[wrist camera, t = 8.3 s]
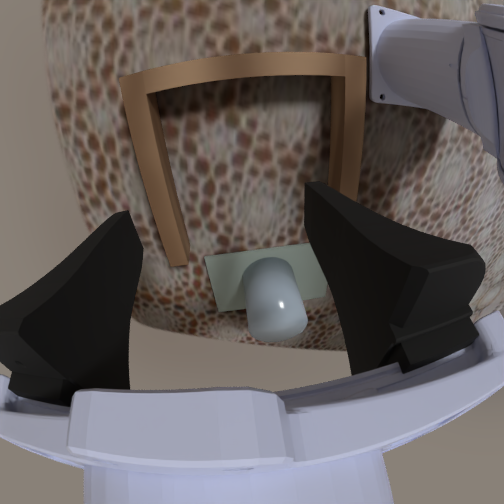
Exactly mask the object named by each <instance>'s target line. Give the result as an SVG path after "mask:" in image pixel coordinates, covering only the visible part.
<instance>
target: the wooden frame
mask: <svg viewBox="0 0 504 504" xmlns="http://www.w3.org/2000/svg"><path fill="white" fill-rule="evenodd" d="M274 75H328V76H331V131H330V158H329V176H328V186H330V187H331V188H333V189H335V190H336V191H338V192H340V193H341V194H343V195H345V196H347V197H348V198H350V199H352V200H353V201H355V202H356V201H357V194H358V186H359V178H360V169H361V159H362V149H363V137H364V123H365V104H366V57H362V56H353V55H344V54H332V53H315V52H265V53H248V54H236V55H226V56H218V57H210V58H203V59H197V60H191V61H186V62H180V63H175V64H171V65H166V66H161V67H157V68H153V69H149V70H145V71H141V72H138V73H134V74H131V75H127V76H124V77H121V78H119V82H120V87H121V92H122V97H123V102H124V107H125V111H126V116H127V120H128V125H129V129H130V133H131V137H132V141H133V145H134V149H135V153H136V157H137V161H138V165H139V168H140V172H141V176H142V179H143V183H144V186H145V190H146V193H147V196H148V200H149V203H150V206H151V209H152V213H153V216H154V219H155V222H156V225H157V228H158V231H159V234H160V237H161V240H162V243H163V246H164V249H165V252H166V255H167V257H168V260H169V263H170V266H171V267H173V266H181V265H188V264H189V253H190V243H189V239H188V235H187V231H186V228H185V224H184V220H183V216H182V212H181V208H180V204H179V200H178V196H177V192H176V188H175V184H174V180H173V175H172V171H171V166H170V162H169V158H168V153H167V148H166V144H165V139H164V134H163V129H162V124H161V119H160V114H159V109H158V103H157V98H156V91H161V90H165V89H170V88H175V87H180V86H185V85H191V84H197V83H203V82H210V81H217V80H225V79H234V78H244V77H256V76H274Z"/></svg>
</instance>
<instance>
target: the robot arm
mask: <svg viewBox="0 0 504 504" xmlns="http://www.w3.org/2000/svg"><path fill="white" fill-rule="evenodd" d="M379 10H381V11H382V13H383V14H382V15H381V14H380V13H379ZM475 16H476V19H477V22H478V23H476V22H468V21H459V20H446V19H421V18H418V17H415V16H412V15H409V14H406V13H402V12H399V11H396V10H392V9H388V8H384V7H380V6H376V5H372V6H369V8H368V20H369V44H370V84H369V98H370V99H371V100H372V101H373V102H376V103H386V104H395V105H403V106H411V107H417V108H424V109H428V110H430V111H432V112H435V113H437V114H439V115H441V116H443V117H445V118H447V119H449V120H451V121H453V122H455V123H457V124H459V125H461V126H463V127H465V128H466V129H468V130H470V131H472V132H474V133H475V134H477V135H479V136H480V137H481V139H482V142H483V149H484V150H485V151H487V152H488V153H490V154H491V155H493V156H494V157H495V158H497V170H498V174H499V177H500V179H501V181H502V183H503V184H504V5H497V4H481V6H480V7H479V10H478V11H475ZM381 94H382V95H383V98H382V99H380V95H381ZM304 226H305V229H306V233H307V236H308V239H309V242H310V245H311V247H312V249H313V252H314V254H315V256H316V258H317V260H318V263H319V265H320V267H321V269H322V271H323V274H324V276H325V278H326V280H327V282H328V285H329V287H330V290H331V292H332V295H333V298H334V302H335V305H336V308H337V312H338V315H339V319H340V323H341V327H342V331H343V334H344V339H345V343H346V348H347V353H348V357H349V363H350V368H351V374H352V376H349V377H345V378H341V379H337V380H333V381H328V382H324V383H320V384H315V385H310V386H305V387H300V388H295V389H289V390H283V391H277V392H271V391H268V390H263V389H257V388H252V387H212V388H198V389H178V390H130V381H129V361H128V360H129V330H130V319H131V313H132V308H133V303H134V299H135V294H136V290H137V286H138V282H139V277H140V273H141V268H142V260H143V249H144V248H143V246H142V244H141V241H140V239H139V236H138V234H137V231H136V229H135V226H134V224H133V221H132V218H131V216H130V213H129V211H128V210H127V211H122V212H118V213H115V214H113V215H112V216H111V217H109V218H108V219H107V220H106V221H105V222H104V223H102V224H101V225H100V226H99V227H98V228H97V229H96V230H95V231H94V232H93V233H92V234H91V235H90V236H89V237H88V238H87V239H86V240H85V241H84V242H82V243H81V244H80V245H79V246H78V247H77V248H76V249H75V250H74V251H73V252H72V253H71V254H70V255H69V256H68V257H66V258H65V259H64V260H63V261H62V262H61V263H60V264H58V265H57V266H56V267H55V268H54V269H53V270H51V271H50V272H49V273H48V274H46V275H45V276H44V277H42V278H41V279H40V280H38V281H37V282H36V283H34V284H33V285H32V286H30V287H29V288H27V289H26V290H25V291H23V292H22V293H20V294H19V295H17V296H15V297H14V298H12V299H11V300H9V301H7V302H5V303H4V304H2V305H0V362H1V363H2V364H4V365H5V366H6V367H7V368H8V369H9V370H10V371H12V374H11V378H9V377H7V376H5V375H2V374H0V437H1V438H3V439H5V440H7V441H9V442H11V443H13V444H15V445H17V446H19V447H21V448H24V449H26V450H29V451H31V452H33V453H36V454H38V455H41V456H44V457H47V458H50V459H52V460H55V461H58V462H61V463H64V464H68V465H71V466H74V467H78V468H81V469H84V504H394V501H393V497H392V492H391V488H390V483H389V479H388V475H387V471H386V467H385V463H384V459H383V455H382V453H384V452H386V451H389V450H391V449H394V448H396V447H399V446H401V445H403V444H406V443H408V442H410V441H412V440H415V439H417V438H419V437H421V436H423V435H425V434H427V433H429V432H431V431H433V430H435V429H437V428H439V427H441V426H443V425H445V424H446V423H448V422H450V421H452V420H453V419H455V418H457V417H459V416H460V415H462V414H464V413H465V412H467V411H469V410H470V409H472V408H473V407H475V406H477V405H478V404H480V403H481V402H482V401H484V400H485V399H487V398H489V397H490V396H491V395H493V394H494V393H495V392H496V391H498V390H499V389H500V388H502V387H503V386H504V319H503V317H502V315H501V314H500V312H499V310H496V311H494V312H492V313H490V314H488V315H486V316H484V317H482V318H480V319H479V320H477V321H476V322H475V323H474V324H473V323H472V321H471V319H470V316H471V315H472V314H473V311H472V309H471V308H470V306H469V305H468V304H469V303H470V301H471V300H472V298H473V296H474V295H475V293H476V291H477V290H478V288H479V286H480V284H481V282H482V280H483V278H484V275H485V269H486V268H485V262H484V260H483V259H482V258H481V256H480V255H479V254H478V253H477V251H476V250H475V249H474V248H473V247H472V246H471V245H469V244H464V243H460V242H456V241H451V240H447V239H443V238H440V237H436V236H433V235H430V234H427V233H424V232H420V231H418V230H415V229H412V228H410V227H407V226H404V225H402V224H399V223H397V222H395V221H392V220H390V219H388V218H386V217H384V216H381V215H379V214H377V213H375V212H373V211H372V210H370V209H368V208H366V207H364V206H362V205H360V204H359V203H357V202H355V201H353V200H352V199H350V198H348V197H347V196H345V195H343V194H341V193H340V192H338V191H336V190H335V189H333V188H331V187H330V186H328V185H326V184H324V183H322V182H320V181H318V182H307V183H305V206H304Z"/></svg>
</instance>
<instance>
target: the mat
mask: <svg viewBox="0 0 504 504" xmlns="http://www.w3.org/2000/svg"><path fill="white" fill-rule="evenodd" d="M267 257H276V258H281V259H284V260H285V261H287V262H288V263H289V264H290V265H291V266H292V269H293V272H294V275H295V279H296V282H297V285H298V288H299V292H300V295H301V298H302V300H308V299H314V298H320V297H325V295H326V289H327V283H328V282H327V280H326V278H325V276H324V274H323V271H322V269H321V267H320V265H319V263H318V260H317V258H316V256H315V254H314V252H313V249H312V247H311V245H310V243H304V244H296V245H288V246H281V247H273V248H266V249H258V250H250V251H243V252H235V253H227V254H220V255H212V256H205V257H204V258H205V262H206V266H207V270H208V274H209V278H210V281H211V285H212V289H213V293H214V296H215V300H216V304H217V307H218V311H219V312H223V311H232V310H240V309H246V303H245V295H244V286H243V273H244V271H245V269H246V268H247V267H248V266H249V265H250V264H251V263H253V262H255V261H257V260H259V259H262V258H267Z"/></svg>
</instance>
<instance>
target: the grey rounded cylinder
mask: <svg viewBox="0 0 504 504" xmlns="http://www.w3.org/2000/svg"><path fill="white" fill-rule="evenodd" d="M243 286H244V295H245V303H246V311H247V319H248V327H249V332H250V334H251V336H252V337H254V338H255V339H257V340H260V341H264V342H279V341H284V340H287V339H290V338H292V337H294V336H296V335H298V334H299V333H301V332H303V330H304V329H305V327H306V325H307V322H308V319H307V315H306V312H305V308H304V305H303V302H302V298H301V295H300V292H299V288H298V285H297V282H296V279H295V275H294V272H293V269H292V266H291V265H290V264H289V263H288V262H287V261H285V260H284V259H281V258H276V257H267V258H262V259H259V260H257V261H255V262H253V263H251V264H250V265H249V266H248V267H247V268H246V269H245V271H244V273H243Z"/></svg>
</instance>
